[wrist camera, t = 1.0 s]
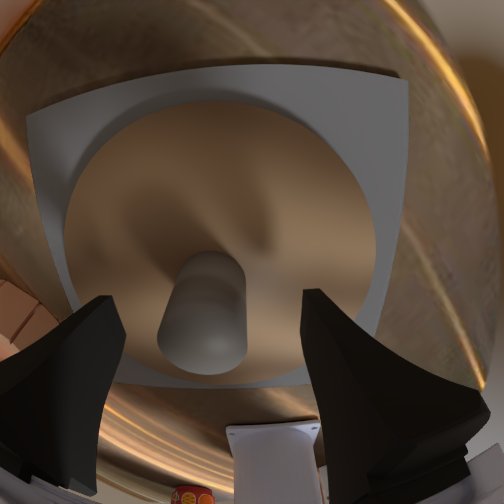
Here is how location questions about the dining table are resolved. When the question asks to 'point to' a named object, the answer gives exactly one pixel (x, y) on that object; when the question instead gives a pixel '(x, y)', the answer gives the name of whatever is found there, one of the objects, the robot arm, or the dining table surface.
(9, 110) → the dining table surface
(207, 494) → the smoothie
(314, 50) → the dining table surface
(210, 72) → the mat
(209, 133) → the lid
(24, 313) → the bowl
